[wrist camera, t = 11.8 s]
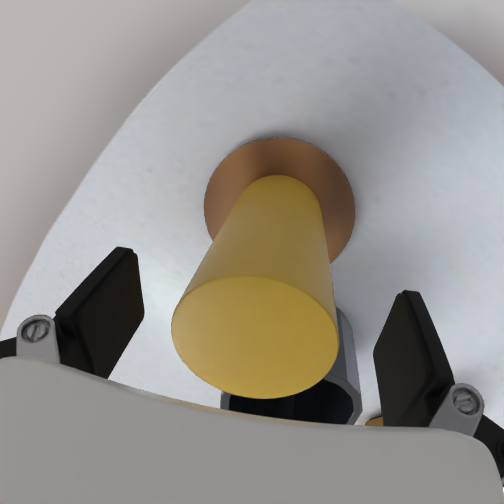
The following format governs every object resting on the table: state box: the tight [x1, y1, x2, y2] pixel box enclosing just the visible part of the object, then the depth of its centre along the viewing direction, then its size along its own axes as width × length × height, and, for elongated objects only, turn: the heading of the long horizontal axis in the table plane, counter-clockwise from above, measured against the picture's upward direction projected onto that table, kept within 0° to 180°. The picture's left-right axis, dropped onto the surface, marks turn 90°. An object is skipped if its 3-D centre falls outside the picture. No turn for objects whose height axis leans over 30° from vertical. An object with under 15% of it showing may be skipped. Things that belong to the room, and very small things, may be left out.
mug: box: [220, 308, 362, 425], centre depth 24 cm, size 13×10×8 cm
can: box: [171, 175, 339, 399], centre depth 15 cm, size 6×6×12 cm
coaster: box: [204, 137, 355, 263], centre depth 21 cm, size 10×10×1 cm
